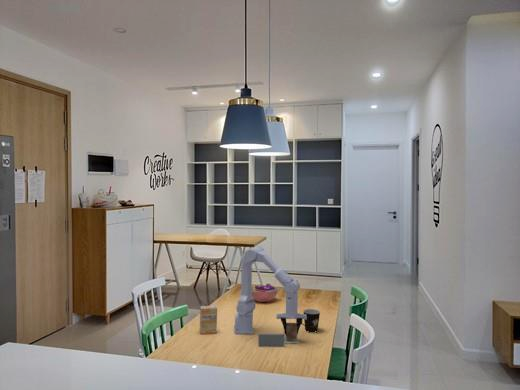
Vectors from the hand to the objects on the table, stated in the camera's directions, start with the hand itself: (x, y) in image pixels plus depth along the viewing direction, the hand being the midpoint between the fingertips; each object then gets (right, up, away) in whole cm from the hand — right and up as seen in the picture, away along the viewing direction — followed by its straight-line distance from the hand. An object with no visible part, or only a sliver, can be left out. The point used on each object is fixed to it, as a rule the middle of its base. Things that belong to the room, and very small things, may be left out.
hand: (291, 333), depth 191 cm
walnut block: (0, -2, 0) cm, 2 cm away
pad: (0, -4, 0) cm, 4 cm away
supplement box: (-41, -3, +9) cm, 43 cm away
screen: (-10, -4, -6) cm, 12 cm away
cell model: (-13, -3, +70) cm, 71 cm away
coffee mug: (+10, -4, +15) cm, 19 cm away
